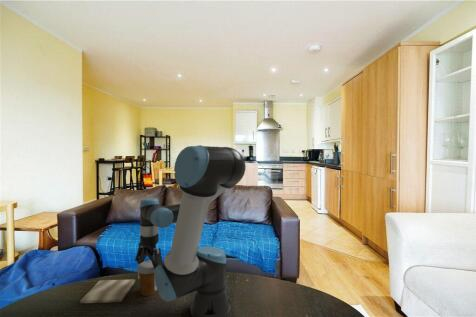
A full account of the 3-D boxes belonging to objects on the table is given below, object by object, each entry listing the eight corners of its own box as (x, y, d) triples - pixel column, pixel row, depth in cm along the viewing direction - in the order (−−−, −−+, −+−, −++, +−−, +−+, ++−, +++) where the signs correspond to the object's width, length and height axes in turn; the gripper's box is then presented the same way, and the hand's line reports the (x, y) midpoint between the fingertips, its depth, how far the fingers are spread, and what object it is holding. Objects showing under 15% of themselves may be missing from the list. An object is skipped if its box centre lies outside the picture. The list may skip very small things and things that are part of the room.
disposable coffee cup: (164, 286, 109) (164, 260, 109) (154, 299, 100) (155, 269, 100) (143, 285, 110) (144, 259, 110) (132, 297, 101) (132, 268, 101)
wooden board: (135, 281, 114) (135, 279, 114) (121, 301, 98) (121, 299, 98) (99, 282, 112) (99, 280, 112) (79, 303, 97) (79, 300, 97)
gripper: (173, 238, 100) (173, 289, 100) (142, 226, 116) (142, 271, 116) (157, 243, 94) (157, 297, 94) (127, 230, 110) (127, 277, 110)
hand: (149, 283), depth 105 cm, fingers open, 13 cm apart
